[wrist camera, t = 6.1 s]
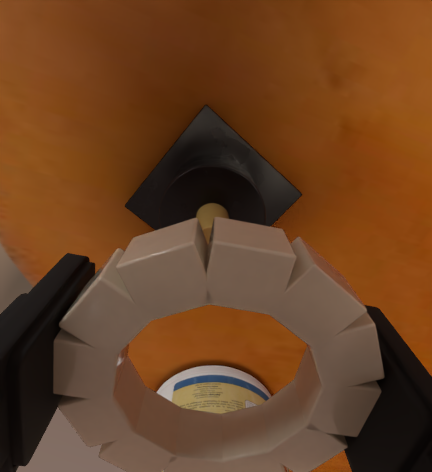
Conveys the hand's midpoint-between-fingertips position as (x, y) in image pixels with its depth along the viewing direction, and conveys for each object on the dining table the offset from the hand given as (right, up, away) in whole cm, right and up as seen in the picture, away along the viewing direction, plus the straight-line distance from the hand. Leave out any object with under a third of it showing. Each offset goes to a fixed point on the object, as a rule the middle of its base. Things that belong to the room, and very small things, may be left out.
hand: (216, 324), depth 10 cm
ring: (0, 0, -1) cm, 1 cm away
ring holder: (0, +5, +14) cm, 15 cm away
